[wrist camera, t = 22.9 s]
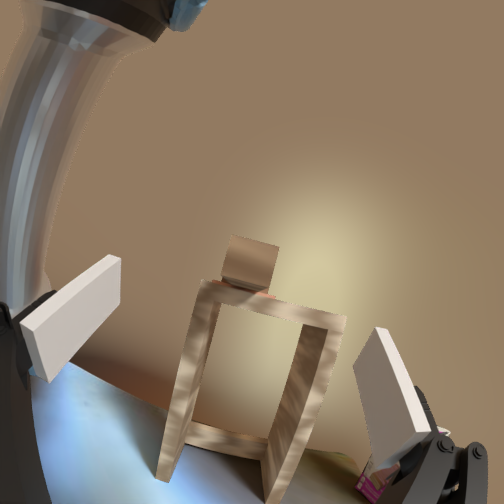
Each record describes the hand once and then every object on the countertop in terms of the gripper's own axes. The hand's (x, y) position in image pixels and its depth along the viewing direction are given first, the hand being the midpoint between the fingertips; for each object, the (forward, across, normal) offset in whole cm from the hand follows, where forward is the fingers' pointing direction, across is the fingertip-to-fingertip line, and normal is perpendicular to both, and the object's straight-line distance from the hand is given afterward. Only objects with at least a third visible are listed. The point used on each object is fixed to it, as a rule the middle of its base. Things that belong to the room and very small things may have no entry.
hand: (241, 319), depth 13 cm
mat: (+24, 0, -12) cm, 26 cm away
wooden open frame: (+8, +4, -38) cm, 39 cm away
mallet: (+17, 0, -7) cm, 18 cm away
